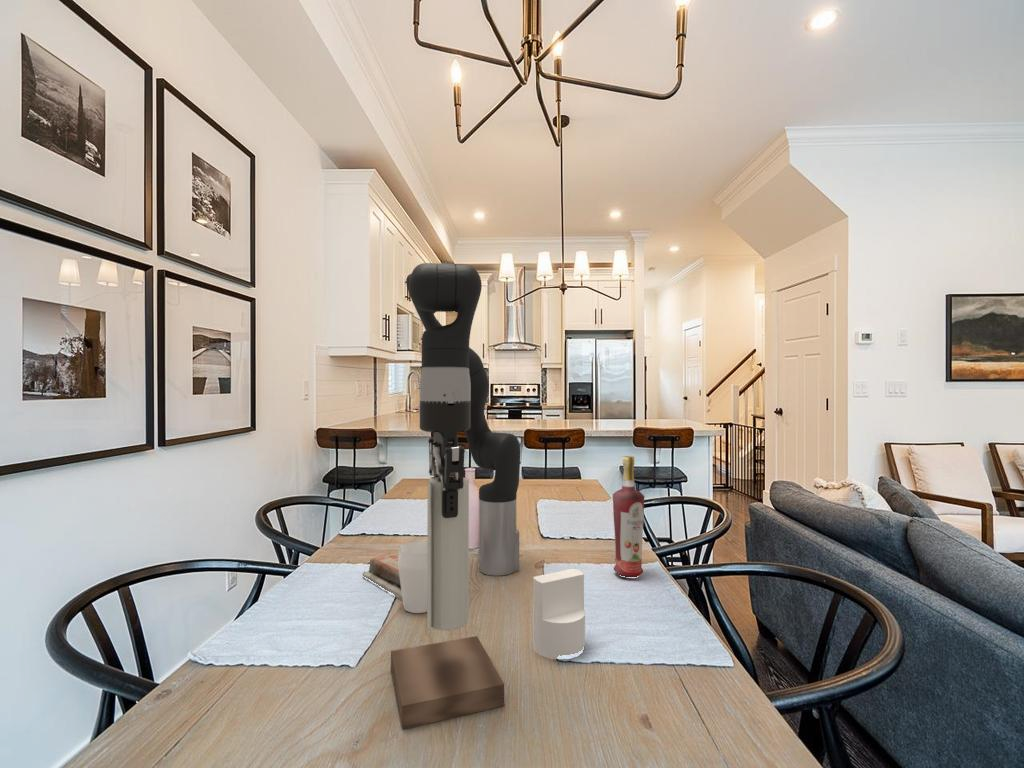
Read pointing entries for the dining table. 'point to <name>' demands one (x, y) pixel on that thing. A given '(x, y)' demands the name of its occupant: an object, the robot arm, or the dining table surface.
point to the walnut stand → (444, 681)
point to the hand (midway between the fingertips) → (444, 510)
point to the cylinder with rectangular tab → (558, 613)
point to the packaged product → (385, 573)
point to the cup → (413, 575)
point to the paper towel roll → (447, 560)
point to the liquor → (628, 524)
